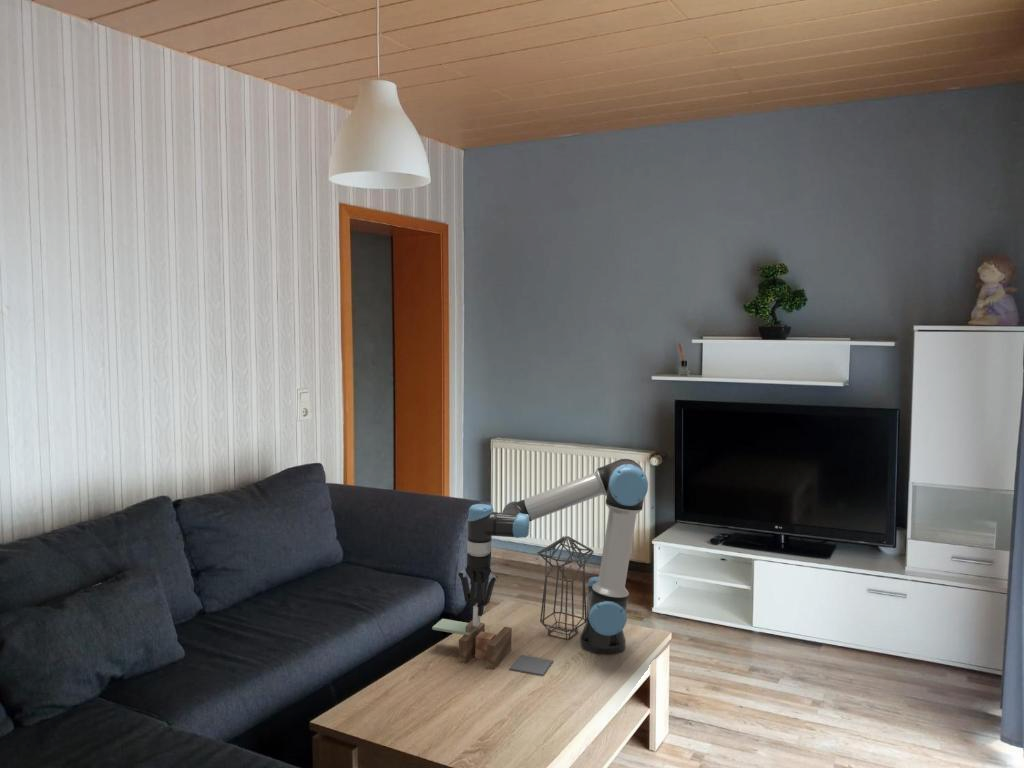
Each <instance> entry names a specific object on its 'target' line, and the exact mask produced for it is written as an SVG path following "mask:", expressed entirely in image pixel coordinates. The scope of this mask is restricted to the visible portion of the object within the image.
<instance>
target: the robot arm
mask: <svg viewBox="0 0 1024 768" xmlns="http://www.w3.org/2000/svg"><path fill="white" fill-rule="evenodd" d="M648 489H649V482H648V477H647V475H646V474H645V472H644V471H643V468H642V466H641V465H640V464H639V463H638V462H636V461H635V460H633V459H630V458H620V459H617V460H615V461H613V462H609V463H608V464H606V465H603V466H600V467H597V468H596V469H595V471H594V472H593V473H591V474H588V475H585V476H583V477H581V478H577V479H575V480H571V481H569V482H567V483H564V484H561V485H559V486H556V487H554V488H550V489H549V490H545V491H543V492H540V493H537V494H535V495H532V496H529V497H526V498H524V499H521V500H513V501H510V502H508V503H507V504H506V505H505V506H504V507H503V510H502V512H496V511H493V507H492V505H490V504H484V503H476V504H472V505H471V506H470V507H469V508H468V519H467V543H466V544H467V546H466V547H467V548H466V552H467V555H466V567H465V570H461V571H460V572H458V576H459V579H460V580H461V586H462V592H463V596H464V601H465V603H468V604H469V605H470V615H472V620H473V626H476V627H477V626H478V625H479V624H480V623H481V617H482V616H483V614H484V607H485V606H487V605H488V604H489V603H490V600H491V597H492V594H493V590H494V585H495V583H496V582H497V580H498V578H499V577H498V575H494V574H493V573H492V570H491V559H492V558H491V554H490V553H491V552H492V537H503V538H514V539H515V538H516V539H519V538H527V537H528V536H529V531H530V522H532V521H534V520H537V519H540V518H542V517H545V516H548V515H550V514H553V513H556V512H559V511H561V510H564V509H568V508H570V507H573V506H575V505H578V504H581V503H583V502H586V501H589V500H591V499H596V498H597V497H600V496H605V505H606V506H607V509H608V510H609V511H608V515H607V517H608V518H607V521H606V522H607V523H606V530H605V534H604V542H603V548H602V554H601V560H600V568H599V573H598V576H591V577H590V578H589V579H588V581H587V596H586V598H587V599H586V618H587V619H586V623H585V624H584V626H583V629H582V631H581V635H580V638H579V641H580V642H579V645H580V647H581V648H582V649H584V650H586V651H588V652H591V653H594V654H600V655H614V654H619V653H621V652H623V651H624V650H625V649H626V643H627V642H626V641H627V640H626V637H625V633H624V628H625V626H626V624H627V620H628V617H627V607H628V601H629V596H630V595H629V594H630V592H629V591H628V589H627V588H626V583H627V582H626V581H627V576H628V570H629V569H628V568H629V565H630V558H631V551H632V546H633V545H632V544H633V538H634V531H635V526H636V520H637V515H638V514H639V513H640V512H642V510H643V507H644V501H645V497H646V496H647V493H648ZM468 578H469V579H470V582H469V579H468ZM487 579H488V580H489V582H488V584H487V588H486V591H485V584H486V581H487ZM469 583H470V584H469ZM485 592H486V593H485Z"/></svg>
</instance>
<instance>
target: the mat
mask: <svg viewBox="0 0 1024 768" xmlns="http://www.w3.org/2000/svg"><path fill="white" fill-rule="evenodd" d="M553 663H554V660H553V659H547V658H542V657H535V656H530V655H524V654H520V655H519V656H518V657H517V658H516V659H515V661H514V662H513V663H512V664H511V665H510V667H509V668H508V669H509V671H513V672H517V671H518V673H523V674H528V675H535V676H540V677H544V676H545V674H546V673H547V671H548V670H549V669H550V668H551V667H552V665H553ZM551 664H552V665H551ZM549 667H550V668H549Z"/></svg>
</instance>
